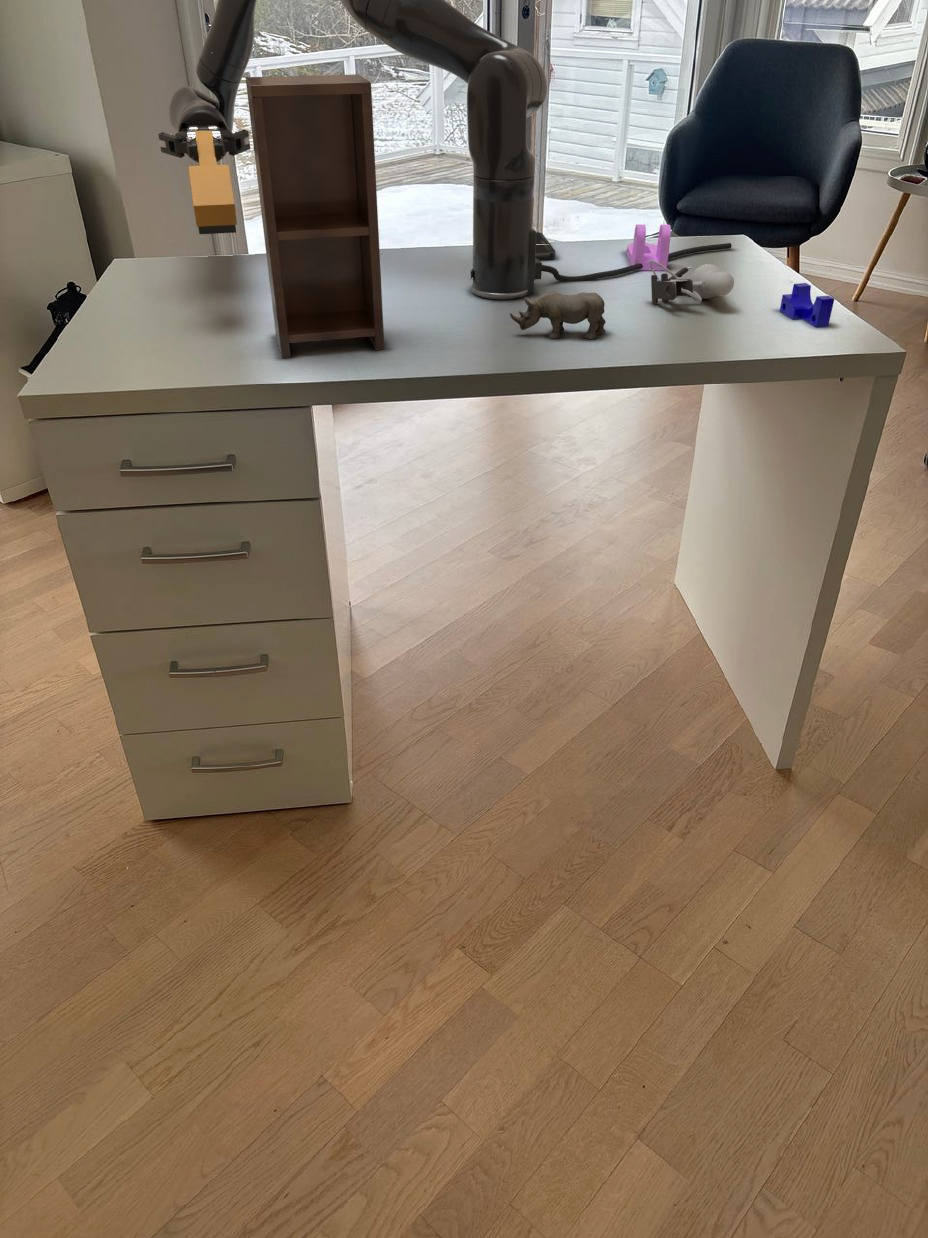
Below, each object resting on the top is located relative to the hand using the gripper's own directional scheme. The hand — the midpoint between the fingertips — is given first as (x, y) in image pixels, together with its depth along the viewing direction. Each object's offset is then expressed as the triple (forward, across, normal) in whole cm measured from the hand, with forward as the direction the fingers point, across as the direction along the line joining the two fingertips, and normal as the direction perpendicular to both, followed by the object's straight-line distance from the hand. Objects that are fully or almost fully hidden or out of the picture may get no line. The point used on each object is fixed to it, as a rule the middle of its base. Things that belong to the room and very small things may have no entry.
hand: (206, 151), depth 131 cm
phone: (-21, +55, +22) cm, 63 cm away
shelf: (+20, +13, +21) cm, 32 cm away
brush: (+2, 0, +4) cm, 5 cm away
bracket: (-9, +73, +22) cm, 77 cm away
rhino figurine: (+25, +45, +22) cm, 56 cm away
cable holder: (+27, +83, +21) cm, 90 cm away
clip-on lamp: (+13, +70, +22) cm, 74 cm away
